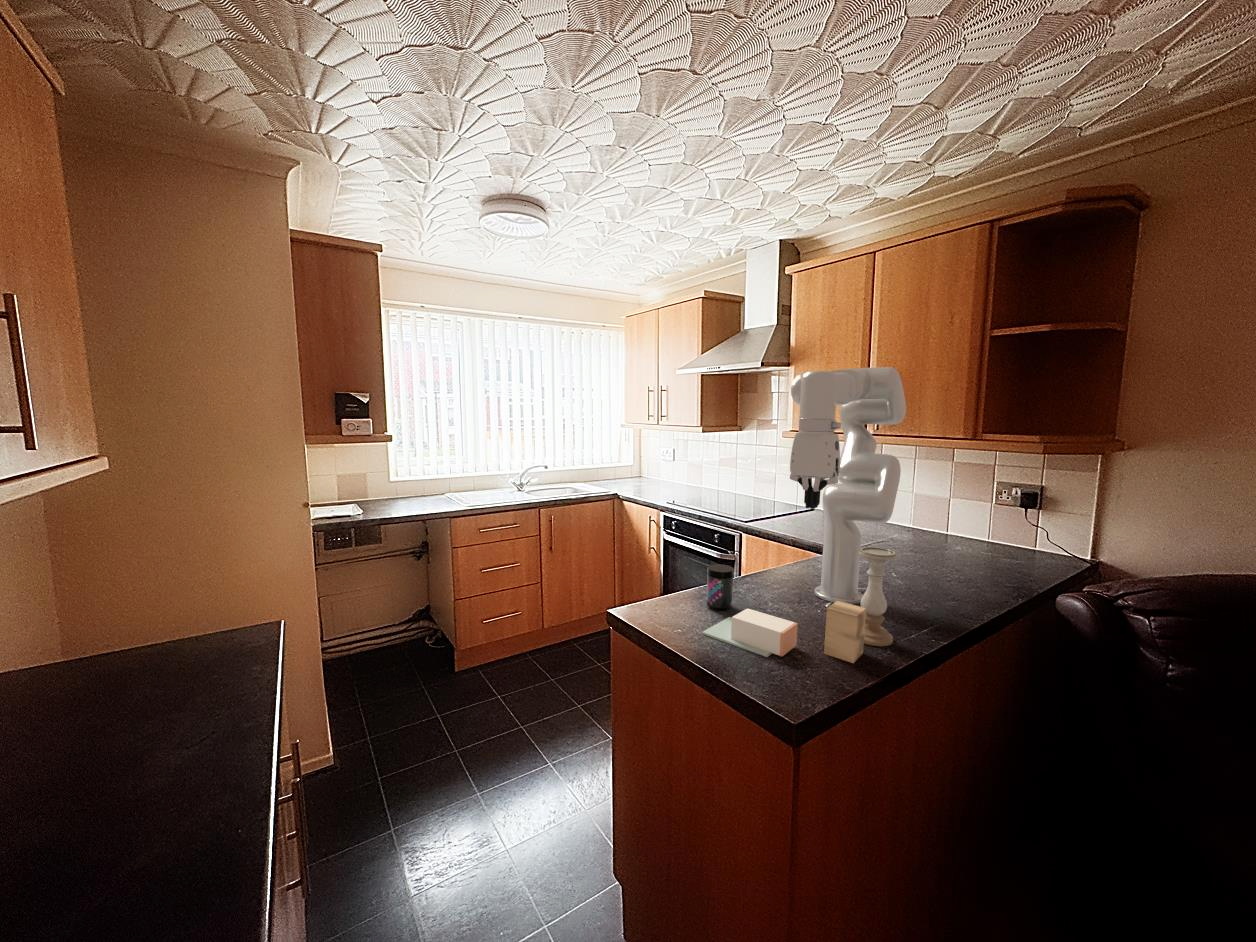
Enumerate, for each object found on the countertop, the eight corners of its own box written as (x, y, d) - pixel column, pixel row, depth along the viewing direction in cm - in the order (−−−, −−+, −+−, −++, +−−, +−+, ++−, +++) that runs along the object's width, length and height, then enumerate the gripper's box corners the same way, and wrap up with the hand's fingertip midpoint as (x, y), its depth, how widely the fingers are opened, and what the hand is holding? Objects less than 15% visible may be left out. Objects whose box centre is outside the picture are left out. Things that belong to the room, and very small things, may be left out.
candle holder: (860, 626, 121) (866, 543, 118) (899, 639, 114) (906, 551, 112) (843, 637, 115) (849, 550, 113) (883, 650, 108) (890, 559, 106)
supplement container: (705, 601, 135) (706, 563, 134) (730, 602, 135) (731, 564, 134) (707, 611, 129) (708, 571, 127) (734, 612, 128) (735, 572, 127)
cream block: (796, 645, 109) (746, 629, 117) (797, 623, 109) (747, 608, 117) (782, 656, 104) (730, 638, 112) (783, 633, 103) (731, 617, 111)
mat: (729, 618, 124) (729, 616, 124) (791, 638, 114) (791, 636, 113) (702, 633, 115) (702, 631, 115) (767, 657, 105) (767, 654, 105)
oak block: (834, 644, 111) (837, 600, 110) (862, 653, 107) (866, 608, 106) (823, 653, 107) (826, 608, 106) (853, 663, 103) (856, 616, 102)
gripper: (856, 428, 111) (851, 510, 113) (791, 426, 121) (787, 501, 123) (844, 428, 106) (839, 514, 108) (777, 426, 116) (773, 505, 118)
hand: (811, 507), depth 115 cm, fingers closed
